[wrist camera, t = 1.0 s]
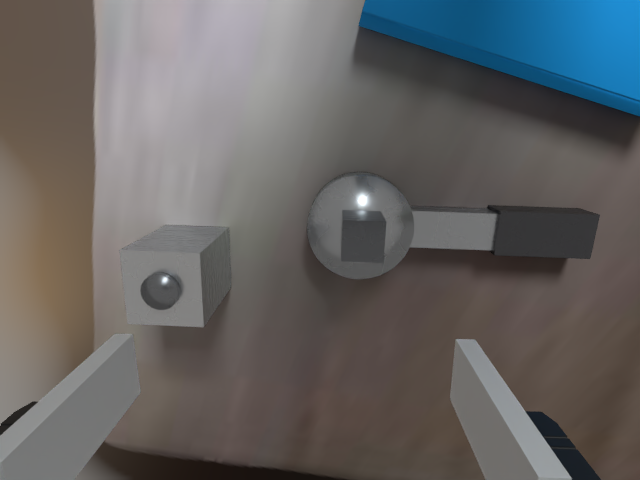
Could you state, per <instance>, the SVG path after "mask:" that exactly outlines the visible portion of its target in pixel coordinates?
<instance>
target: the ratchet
mask: <svg viewBox="0 0 640 480" xmlns="http://www.w3.org/2000/svg"><path fill="white" fill-rule="evenodd" d="M599 217H600V215H599V214H596V213H593V212H589V211H586V210H583V209H580V208H552V207H523V206H494V205H488V209H485V208H456V207H427V206H410V205H409V203H408V202H407V200H406V198H405V197H404V196H403V194H402V193H401V192H400V191H399V190H398V189H397V188H396V187H395V186H394V185H393V184H392V183H390V182H389V181H388V180H386V179H384V178H382V177H381V176H378V175H375V174H372V173H368V172H352V173H347V174H344V175H341V176H339V177H336V178H335V179H333V180H331V181H330V182H329V183H327V184H326V185H325V186H324V187H323V188H322V189H321V190H320V192H319V193H318V194H317V196H316V198H315V200H314V202H313V204H312V207H311V210H310V213H309V217H308V223H307V234H308V240H309V243H310V246H311V248H312V251H313V253H314V254H315V256H316V257H317V259H318V260H319V261H320V262H321V263H322V264H323V265H324V266H325V267H326V268H327V269H329V270H330V271H332V272H334V273H336V274H338V275H340V276H343V277H346V278H351V279H368V278H373V277H377V276H380V275H382V274H384V273H386V272H388V271H390V270H391V269H392V268H394V267H395V266H396V265H397V264H398V263H399V262H400V261H401V260H402V259H403V258H404V256H405V255H406V253H407V252H408V250H409V248H410V247H414V248H440V249H467V250H488V251H490V252H491V253H492V254H493V255H501V256H527V257H554V258H580V259H590V257H591V253H592V248H593V244H594V239H595V235H596V230H597V226H598V221H599Z"/></svg>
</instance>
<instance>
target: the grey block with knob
mask: <svg viewBox="0 0 640 480" xmlns="http://www.w3.org/2000/svg"><path fill="white" fill-rule="evenodd" d="M119 252H120V261H121V270H122V279H123V288H124V297H125V306H126V314H127V323H128V324H142V325H164V326H186V327H204V326H205V325H206V323H207V322H208V320H209V319H210V317H211V316H212V315H213V313H214V312H215V310H216V309H217V307H218V306H219V304H220V303H221V301H222V300H223V298H224V297H225V295H226V294H227V293H228V291H229V290H230V288H231V267H230V238H229V227H209V226H182V225H165V226H163V227H161V228H159V229H157V230H155V231H154V232H152V233H150V234H148V235H146V236H144V237H143V238H141V239H139V240H137V241H135V242H133V243H131V244H130V245H128V246H126V247H124V248H122V249H120V250H119Z"/></svg>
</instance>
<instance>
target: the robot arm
mask: <svg viewBox="0 0 640 480" xmlns="http://www.w3.org/2000/svg"><path fill="white" fill-rule="evenodd" d="M140 393H141V390H140V383H139V375H138V368H137V360H136V353H135V345H134V338H133V334H114V335H113V336H112V337H111V338H109V339H108V340H107V341H106V342H105V343H104V344H103V345H102V346H100V347H99V348H98V349H97V350H96V351H95V352H94V353H93V354H91V355H90V356H89V357H88V358H87V359H86V360H85V361H84V362H82V363H81V364H80V365H79V366H78V367H77V368H76V369H75V370H73V371H72V372H71V373H70V374H69V375H68V376H67V377H66V378H64V379H63V380H62V381H61V382H60V383H59V384H58V385H57V386H55V387H54V389H52V390H51V391H50V392H49V393H48V394H47V395H45V396H44V397H43V398H42V399H41V400H40V401H39V402H31V403H30V404H28V405H26V406H24V407H23V408H21V409H19V410H17V411H16V412H14V413H13V414H12V415H11V416H9V417H8V418H7V419H6V420H5V421H4V422H2V423H1V426H0V480H74V479H75V478H76V476H77V475H78V474H79V473H80V471H81V470H82V469H83V467H84V466H85V465H86V464H87V462H88V461H89V460H90V458H91V457H92V456H93V454H94V453H95V452H96V450H97V449H98V448H99V447H100V445H101V444H102V443H103V441H104V440H105V439H106V437H107V436H108V435H109V433H110V432H111V431H112V430H113V428H114V427H115V426H116V424H117V423H118V422H119V420H120V419H121V418H122V416H123V415H124V414H125V412H126V411H127V410H128V409H129V407H130V406H131V405H132V403H133V402H134V401H135V399H136V398H137V397H138V395H139V394H140ZM450 400H451V402H452V404H453V407H454V409H455V411H456V414H457V416H458V418H459V420H460V423H461V425H462V427H463V429H464V432H465V434H466V436H467V438H468V441H469V443H470V445H471V447H472V450H473V452H474V454H475V456H476V459H477V461H478V463H479V466H480V468H481V470H482V472H483V475H484V477H485V479H486V480H601V479H600V478H599V477H598V475H597V474H596V473H595V471H594V470H593V469H592V468H591V466H590V465H589V464H588V463H587V461H586V460H585V459H584V457H583V456H582V455H581V454H580V452H579V451H578V450H576V448H575V446H574V445H573V443H572V442H571V441H570V439H567V436H566V434H565V433H564V432H563V430H562V429H561V428H560V427H559V425H558V424H557V423H556V422H555V421H553V420H552V419H551V418H549V417H548V416H547V415H545V414H544V413H542V412H528V411H525V410H524V409H523V408H522V406H521V405H520V403H519V402H518V400H517V399H516V398H515V396H514V395H513V393H512V392H511V390H510V389H509V387H508V386H507V385H506V383H505V382H504V380H503V379H502V377H501V376H500V375H499V373H498V372H497V370H496V369H495V367H494V366H493V365H492V363H491V362H490V360H489V359H488V357H487V356H486V354H485V353H484V352H483V350H482V349H481V347H480V346H479V344H478V343H477V342H476V340H475V339H456V340H455V351H454V362H453V372H452V383H451V394H450Z"/></svg>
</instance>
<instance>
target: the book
mask: <svg viewBox="0 0 640 480" xmlns="http://www.w3.org/2000/svg"><path fill="white" fill-rule="evenodd" d="M359 26H361V27H364V28H367V29H370V30H373V31H376V32H379V33H382V34H386V35H389V36H392V37H395V38H398V39H401V40H404V41H407V42H410V43H413V44H417V45H420V46H423V47H426V48H429V49H432V50H435V51H438V52H441V53H444V54H448V55H451V56H454V57H457V58H460V59H463V60H466V61H469V62H472V63H475V64H479V65H482V66H485V67H488V68H491V69H494V70H497V71H500V72H503V73H506V74H510V75H513V76H516V77H519V78H522V79H525V80H528V81H531V82H534V83H538V84H541V85H544V86H547V87H550V88H553V89H556V90H559V91H562V92H565V93H569V94H572V95H575V96H578V97H581V98H584V99H587V100H590V101H593V102H596V103H600V104H603V105H606V106H609V107H612V108H615V109H618V110H621V111H624V112H627V113H631V114H634V115H637V116H640V0H365V3H364V7H363V10H362V14H361V18H360V22H359Z"/></svg>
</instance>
